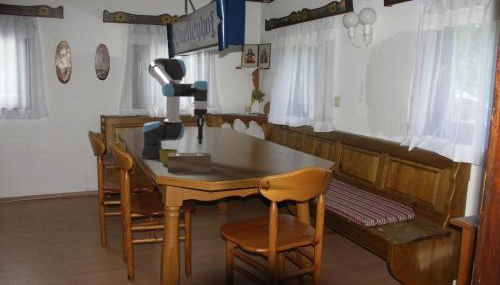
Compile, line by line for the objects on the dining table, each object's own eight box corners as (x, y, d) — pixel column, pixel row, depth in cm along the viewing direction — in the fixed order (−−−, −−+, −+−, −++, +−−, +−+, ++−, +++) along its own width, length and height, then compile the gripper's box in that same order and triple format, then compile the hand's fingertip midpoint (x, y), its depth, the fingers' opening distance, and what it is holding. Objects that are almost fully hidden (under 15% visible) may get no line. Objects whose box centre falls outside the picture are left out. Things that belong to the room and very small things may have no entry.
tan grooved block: (169, 167, 243) (169, 152, 242) (210, 167, 246) (210, 152, 245) (167, 172, 231) (167, 156, 230) (211, 172, 234) (211, 156, 233)
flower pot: (158, 165, 249) (158, 150, 248) (163, 162, 258) (163, 148, 256) (173, 166, 248) (173, 151, 247) (177, 163, 256) (177, 149, 255)
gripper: (193, 107, 240) (193, 147, 244) (193, 109, 228) (193, 151, 231) (207, 107, 241) (206, 147, 245) (207, 109, 229) (206, 151, 232)
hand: (200, 149), depth 238 cm, fingers closed
